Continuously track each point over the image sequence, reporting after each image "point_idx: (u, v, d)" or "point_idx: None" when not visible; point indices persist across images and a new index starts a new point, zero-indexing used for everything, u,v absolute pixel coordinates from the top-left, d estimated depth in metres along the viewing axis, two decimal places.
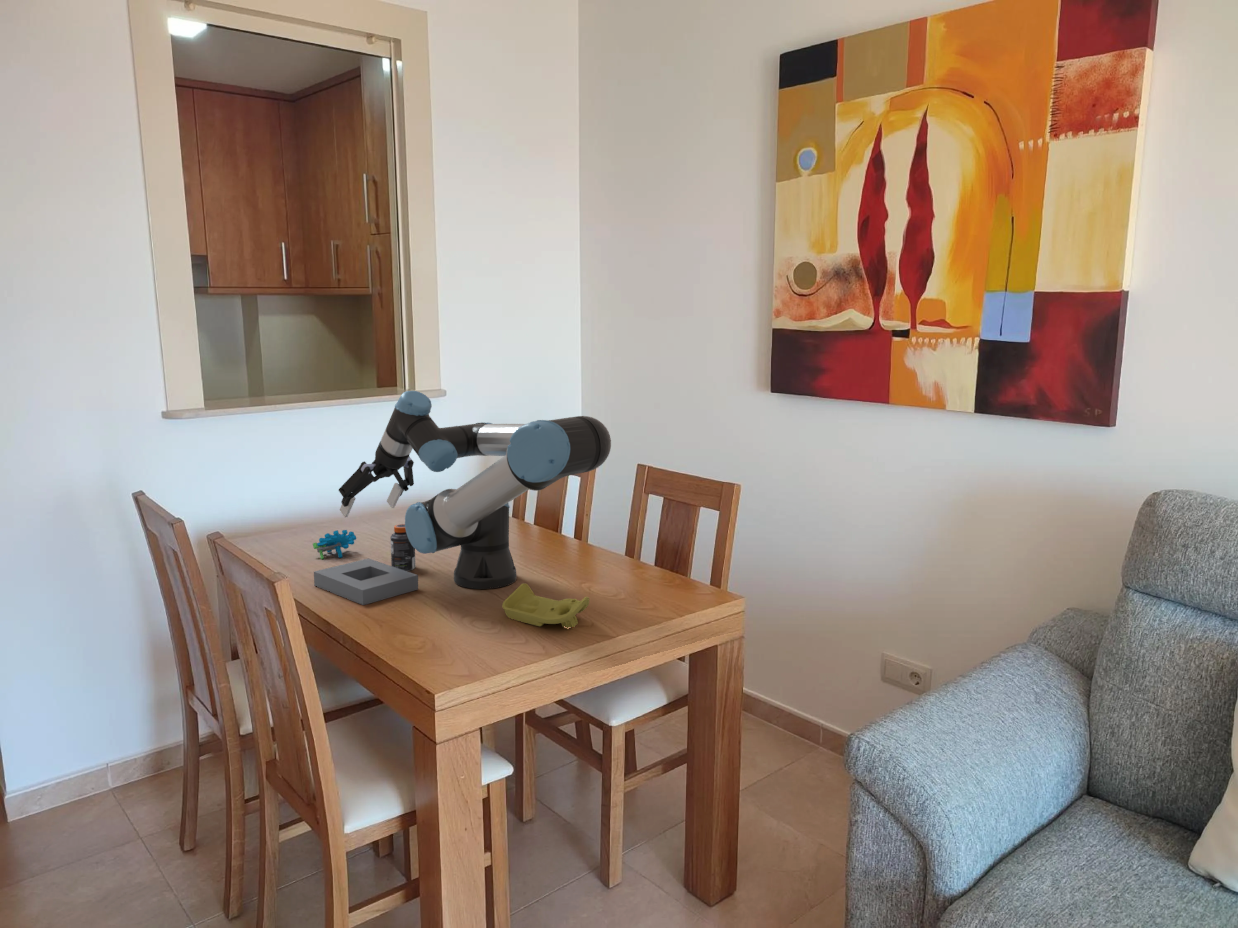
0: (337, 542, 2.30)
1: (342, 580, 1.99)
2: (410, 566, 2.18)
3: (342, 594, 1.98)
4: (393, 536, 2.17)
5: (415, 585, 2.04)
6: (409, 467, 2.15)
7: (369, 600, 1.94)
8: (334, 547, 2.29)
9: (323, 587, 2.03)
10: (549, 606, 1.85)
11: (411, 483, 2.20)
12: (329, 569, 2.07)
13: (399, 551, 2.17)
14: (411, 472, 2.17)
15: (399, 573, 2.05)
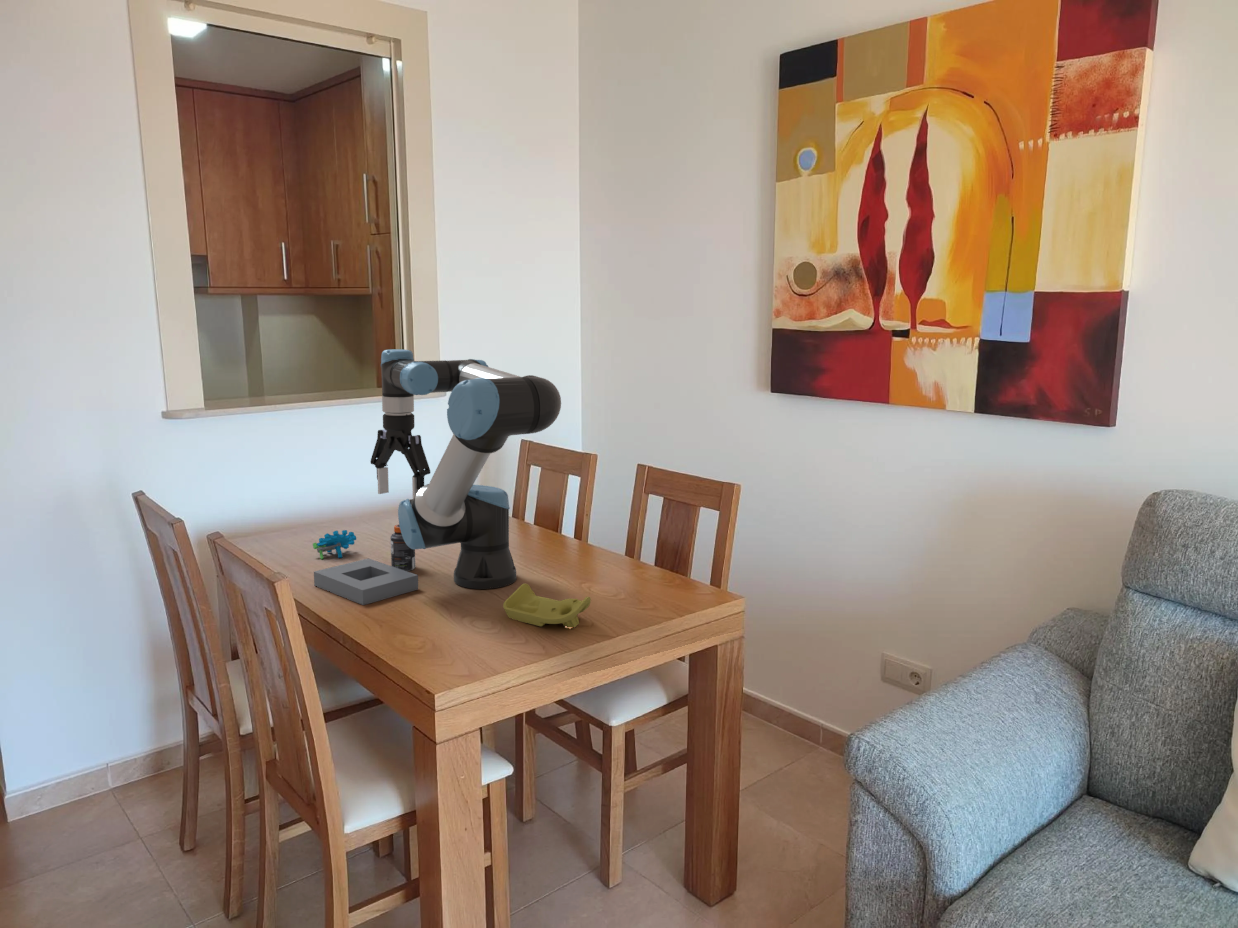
0: (337, 542, 2.30)
1: (342, 580, 1.99)
2: (410, 566, 2.18)
3: (342, 594, 1.98)
4: (393, 536, 2.17)
5: (415, 585, 2.04)
6: (411, 443, 2.09)
7: (369, 600, 1.94)
8: (334, 547, 2.29)
9: (323, 587, 2.03)
10: (550, 606, 1.85)
11: (420, 470, 2.09)
12: (329, 569, 2.07)
13: (399, 551, 2.17)
14: (415, 452, 2.09)
15: (399, 573, 2.05)
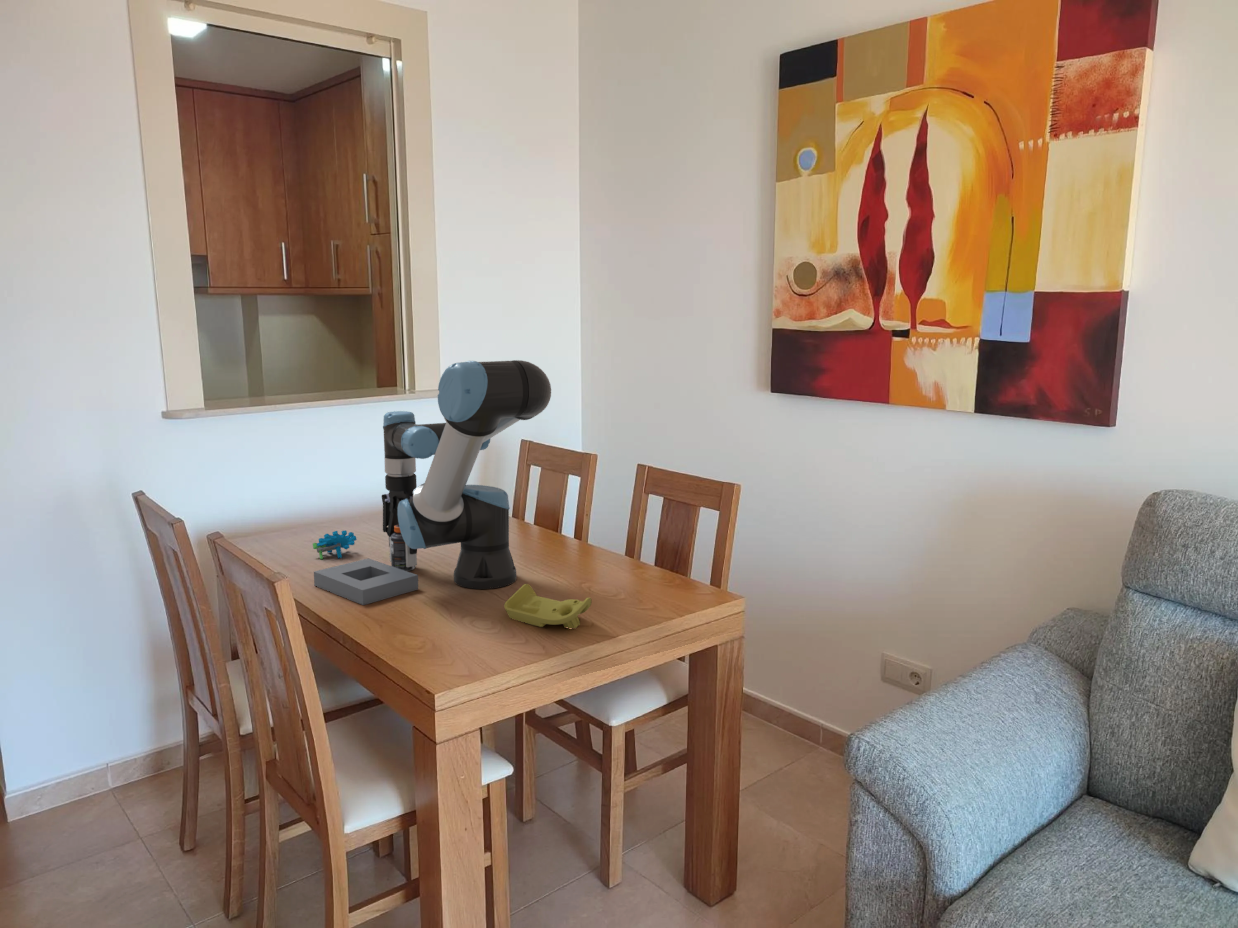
0: (337, 542, 2.29)
1: (342, 580, 1.99)
2: None
3: (342, 594, 1.98)
4: (393, 536, 2.17)
5: (415, 585, 2.04)
6: None
7: (369, 600, 1.94)
8: (334, 547, 2.29)
9: (323, 587, 2.03)
10: (551, 607, 1.85)
11: None
12: (329, 569, 2.07)
13: (399, 551, 2.17)
14: None
15: (399, 573, 2.05)
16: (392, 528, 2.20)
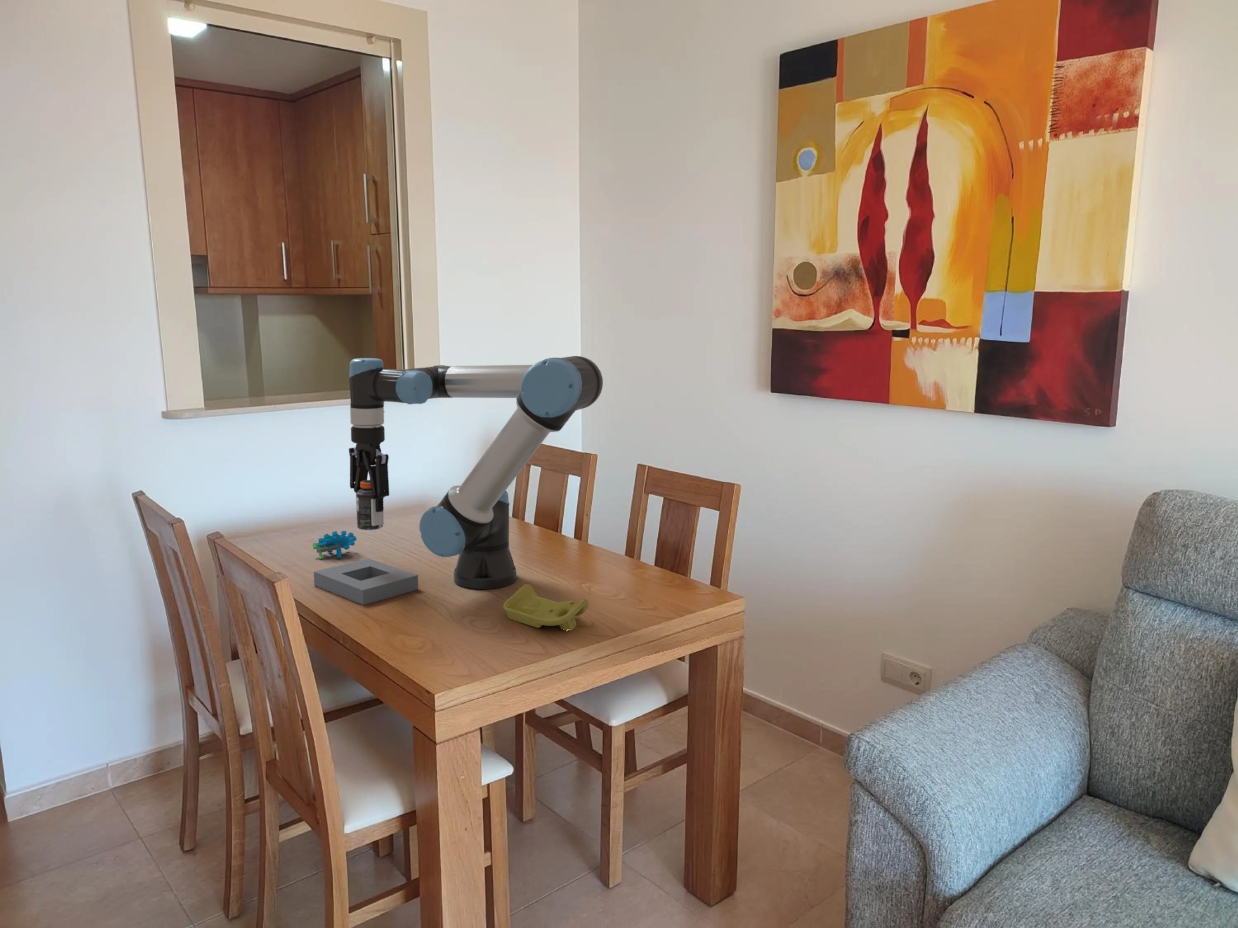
0: (336, 543, 2.29)
1: (342, 580, 1.99)
2: None
3: (342, 594, 1.98)
4: (359, 492, 2.03)
5: (415, 585, 2.04)
6: (376, 462, 1.98)
7: (369, 600, 1.94)
8: (333, 548, 2.29)
9: (323, 587, 2.03)
10: (549, 607, 1.84)
11: (378, 492, 1.99)
12: (329, 569, 2.07)
13: (365, 509, 2.02)
14: (378, 473, 1.99)
15: (399, 573, 2.05)
16: (359, 484, 2.06)
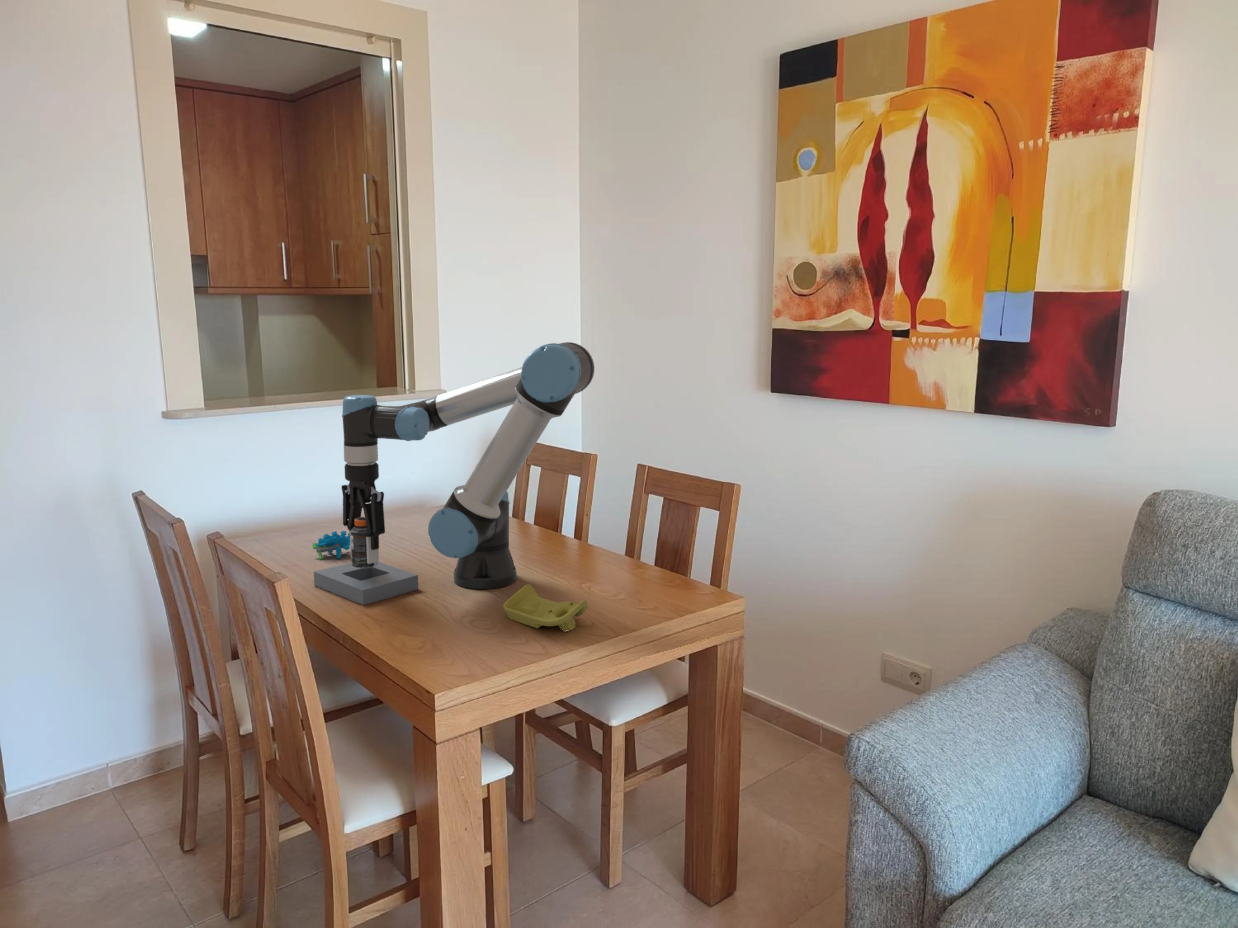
0: (336, 543, 2.29)
1: (342, 580, 1.99)
2: None
3: (342, 594, 1.98)
4: (353, 530, 2.01)
5: (415, 585, 2.04)
6: (372, 500, 1.97)
7: (369, 600, 1.94)
8: (333, 548, 2.29)
9: (323, 587, 2.03)
10: (549, 608, 1.84)
11: (374, 530, 1.98)
12: (329, 569, 2.07)
13: (360, 547, 2.00)
14: (373, 511, 1.97)
15: (399, 573, 2.05)
16: (353, 521, 2.04)
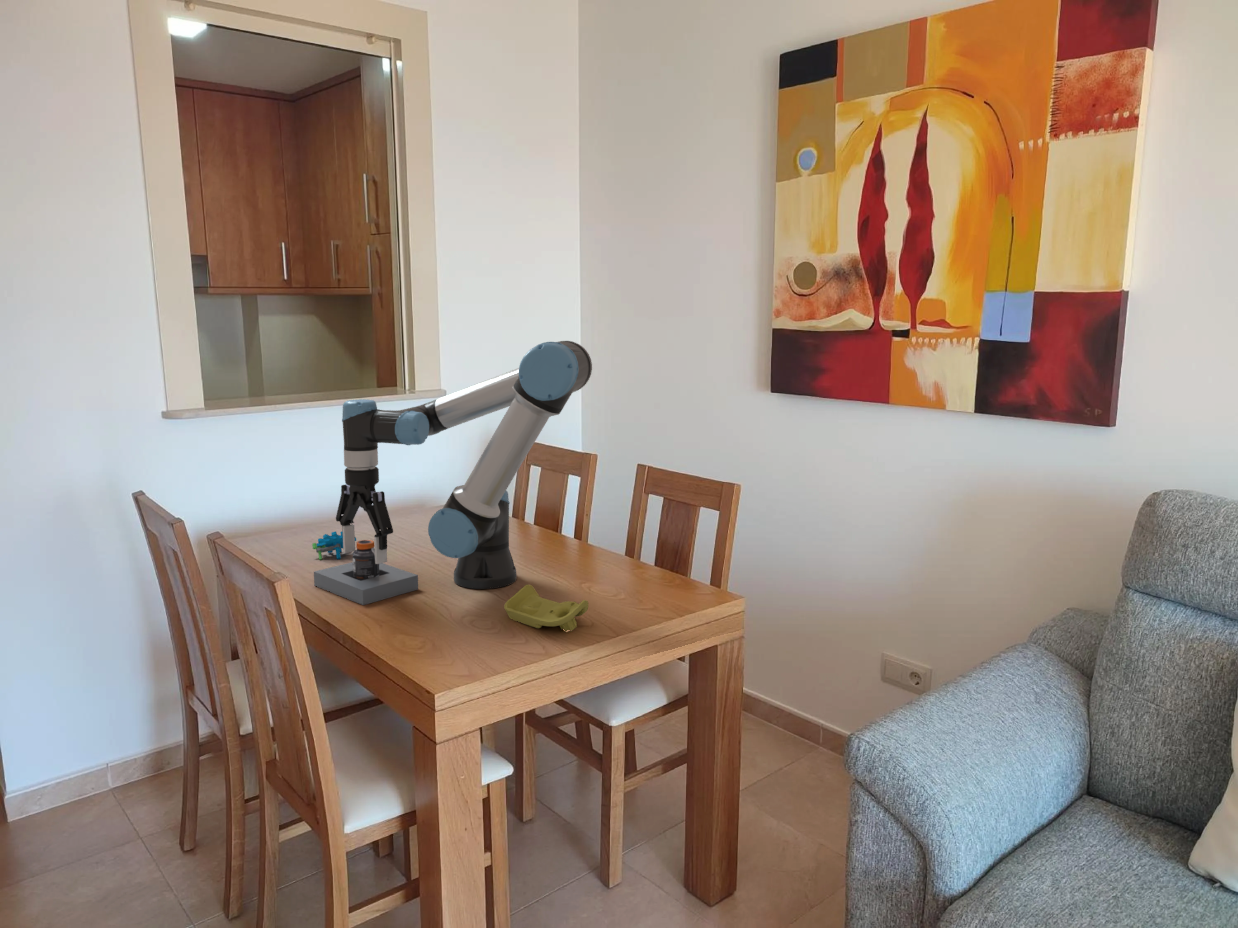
0: (336, 543, 2.29)
1: (342, 580, 1.99)
2: None
3: (342, 594, 1.98)
4: (355, 553, 2.02)
5: (415, 585, 2.04)
6: (373, 501, 1.97)
7: (369, 600, 1.94)
8: (333, 548, 2.28)
9: (323, 587, 2.03)
10: (550, 608, 1.84)
11: (381, 530, 1.96)
12: (329, 569, 2.07)
13: (362, 570, 2.01)
14: (377, 510, 1.96)
15: (399, 573, 2.05)
16: (346, 519, 2.06)
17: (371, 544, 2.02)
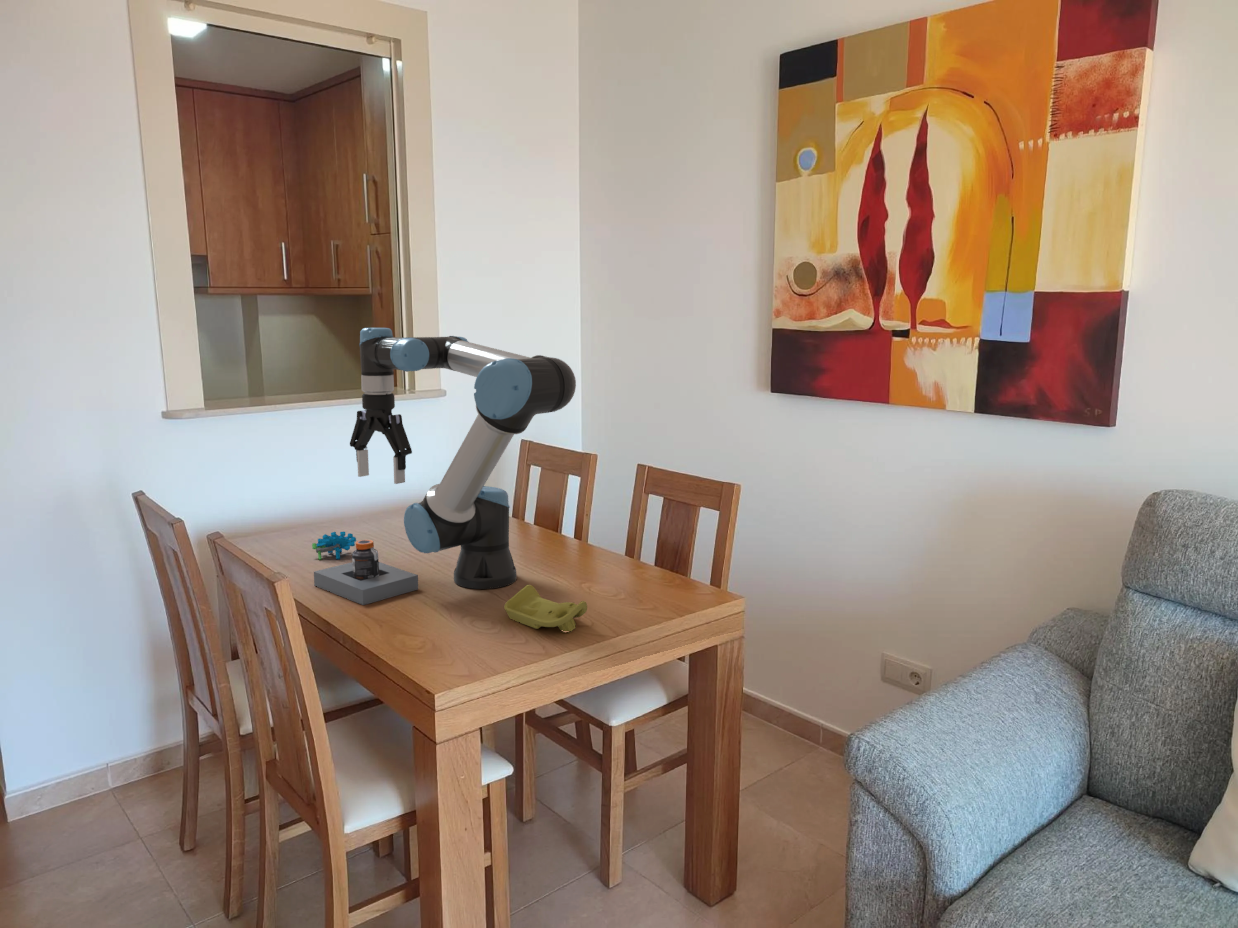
0: (336, 543, 2.28)
1: (342, 580, 1.99)
2: None
3: (342, 594, 1.98)
4: (355, 553, 2.02)
5: (415, 585, 2.04)
6: (391, 423, 2.05)
7: (369, 600, 1.94)
8: (333, 548, 2.28)
9: (323, 587, 2.03)
10: (549, 609, 1.84)
11: (401, 450, 2.05)
12: (329, 569, 2.07)
13: (361, 570, 2.01)
14: (396, 432, 2.05)
15: (399, 573, 2.05)
16: (361, 444, 2.14)
17: (370, 544, 2.02)
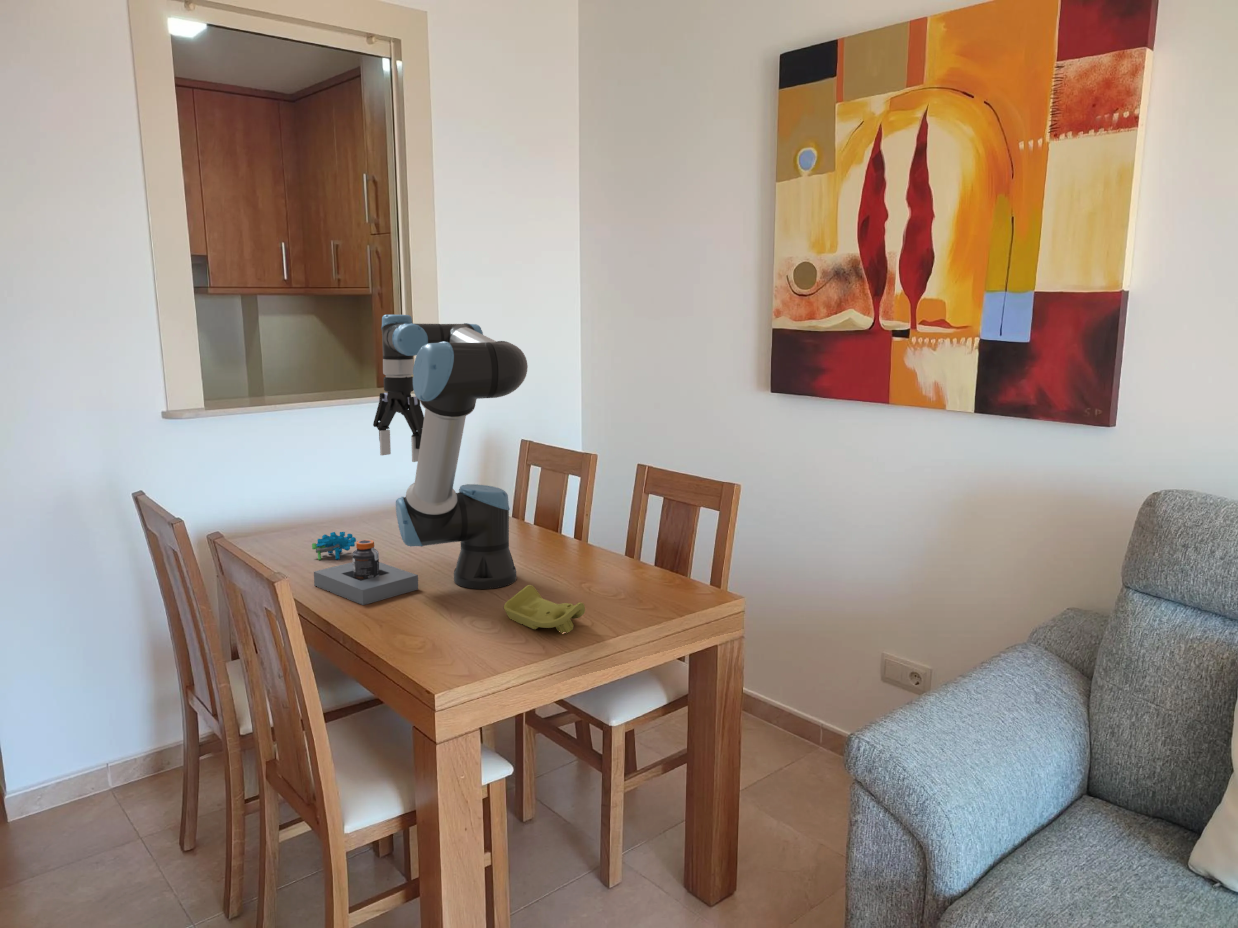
0: (336, 544, 2.28)
1: (342, 580, 1.99)
2: None
3: (342, 594, 1.98)
4: (355, 553, 2.02)
5: (415, 585, 2.04)
6: (410, 404, 2.18)
7: (369, 600, 1.94)
8: (332, 548, 2.28)
9: (323, 587, 2.03)
10: (548, 609, 1.83)
11: (418, 430, 2.17)
12: (329, 569, 2.07)
13: (361, 570, 2.01)
14: (413, 413, 2.17)
15: (399, 573, 2.05)
16: (383, 424, 2.27)
17: (371, 544, 2.02)
